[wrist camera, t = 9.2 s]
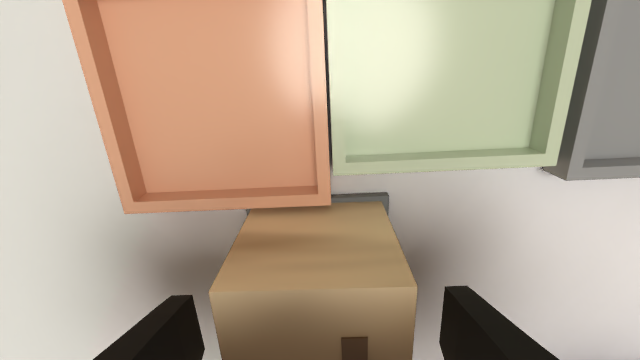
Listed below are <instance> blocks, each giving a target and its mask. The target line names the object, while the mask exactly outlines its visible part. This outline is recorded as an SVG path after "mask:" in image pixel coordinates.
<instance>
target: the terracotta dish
mask: <svg viewBox="0 0 640 360" xmlns="http://www.w3.org/2000/svg"><path fill="white" fill-rule="evenodd" d="M62 1H63V5H64V8H65V12H66V15H67V18H68V22H69V25H70V29H71V32H72V35H73V39H74V42H75V46H76V49H77V53H78V56H79V59H80V63H81V66H82V70H83V73H84V76H85V80H86V83H87V87H88V90H89V94H90V97H91V100H92V104H93V107H94V111H95V114H96V118H97V121H98V124H99V128H100V131H101V135H102V138H103V141H104V145H105V148H106V152H107V155H108V159H109V162H110V165H111V169H112V172H113V176H114V179H115V182H116V186H117V189H118V193H119V196H120V200H121V203H122V206H123V210H124V213H125V214H133V213H157V212H181V211H205V210H229V209H253V208H277V207H301V206H325V205H331V188H330V165H329V142H328V119H327V96H326V73H325V50H324V27H323V4H322V0H62Z"/></svg>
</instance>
